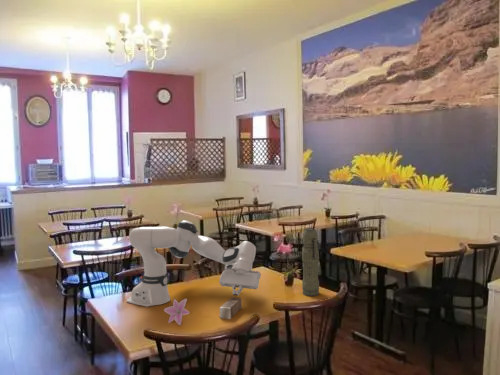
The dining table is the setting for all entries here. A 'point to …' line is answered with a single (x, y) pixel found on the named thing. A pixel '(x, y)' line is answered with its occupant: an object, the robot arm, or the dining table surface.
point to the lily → (177, 311)
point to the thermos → (310, 263)
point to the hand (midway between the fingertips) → (235, 294)
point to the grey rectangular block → (230, 308)
